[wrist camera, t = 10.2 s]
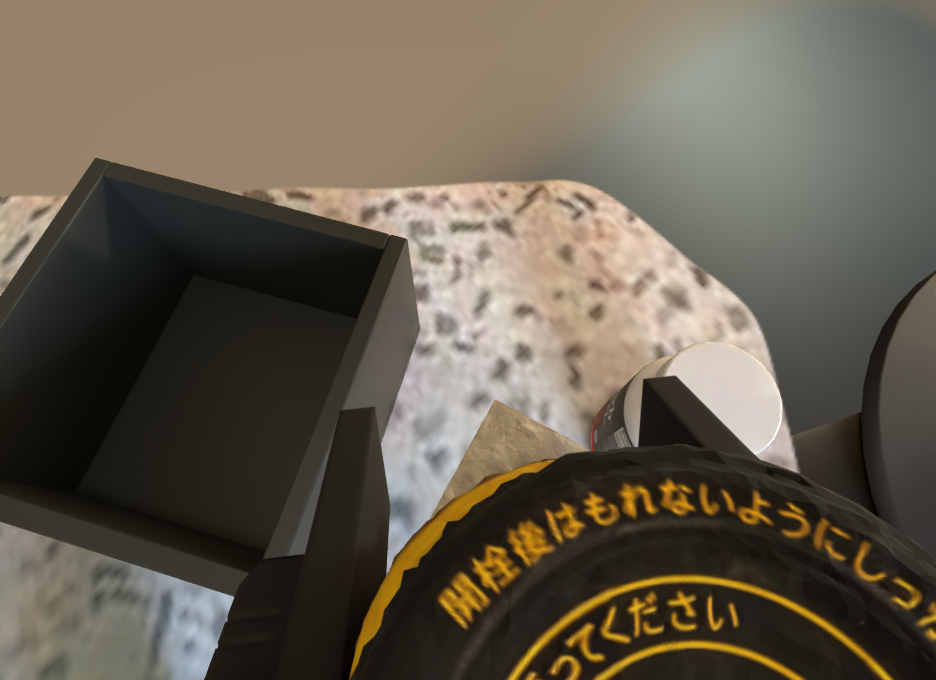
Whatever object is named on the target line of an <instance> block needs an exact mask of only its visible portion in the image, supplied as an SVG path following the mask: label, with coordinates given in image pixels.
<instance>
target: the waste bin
mask: <svg viewBox="0 0 936 680" xmlns="http://www.w3.org/2000/svg"><path fill="white" fill-rule="evenodd" d="M419 331H420V325H419V319H418V312H417V305H416V298H415V290H414V283H413V276H412V269H411V262H410V255H409V247H408V240H407V239H405V238H402V237H398V236H394V235H391V236H390V235H389V234H386V233H383V232H379V231H375V230H371V229H367V228H363V227H359V226H356V225H352V224H348V223H344V222H340V221H336V220H333V219H329V218H325V217H321V216H317V215H313V214H309V213H306V212H302V211H298V210H294V209H290V208H286V207H283V206H279V205H275V204H271V203H267V202H263V201H259V200H256V199H252V198H248V197H244V196H240V195H236V194H233V193H229V192H225V191H221V190H217V189H213V188H209V187H206V186H202V185H198V184H194V183H190V182H186V181H182V180H179V179H174V178H171V177H167V176H163V175H159V174H156V173H151V172H148V171H144V170H140V169H136V168H133V167H129V166H125V165H120V164H117V163H111V162H109V161H106V160H102V159H98V158H95V159H94V161H93V162H92V164H91V165H90V167H89V168H88V170H87V171H86V172H85V174H84V175H83V177H82V178H81V180H80V181H79V183H78V184H77V186H76V187H75V189H74V190H73V191H72V193H71V194H70V196H69V197H68V199H67V200H66V202H65V203H64V204H63V206H62V207H61V209H60V210H59V212H58V213H57V215H56V216H55V218H54V219H53V221H52V222H51V223H50V225H49V226H48V228H47V229H46V231H45V232H44V234H43V235H42V237H41V238H40V239H39V241H38V242H37V244H36V245H35V247H34V248H33V250H32V251H31V253H30V254H29V255H28V257H27V258H26V260H25V261H24V263H23V264H22V266H21V267H20V269H19V270H18V272H17V273H16V274H15V276H14V277H13V279H12V280H11V282H10V283H9V285H8V286H7V288H6V289H5V290H4V292H3V293H2V295H1V296H0V522H3V523H6V524H9V525H12V526H15V527H19V528H22V529H25V530H28V531H31V532H34V533H37V534H40V535H44V536H47V537H50V538H53V539H56V540H59V541H62V542H65V543H68V544H72V545H75V546H78V547H81V548H84V549H87V550H90V551H93V552H97V553H100V554H103V555H106V556H109V557H112V558H115V559H118V560H122V561H125V562H128V563H131V564H134V565H137V566H140V567H143V568H146V569H150V570H153V571H156V572H159V573H162V574H165V575H168V576H171V577H175V578H178V579H181V580H184V581H187V582H190V583H193V584H196V585H200V586H203V587H206V588H209V589H212V590H215V591H218V592H221V593H225V594H228V595H231V596H234V597H235V594H236V592H237V589H238V586H239V585H240V584H241V582H242V581H243V580H244V579H245V578H246V576H247V575H248V574H249V573H250V572H251V570H252V569H253V568H254V567H255V565H256V564H257V563H258V562H259V561H260V559H267V558H275V557H284V556H292V555H300V554H305V551H306V547H307V543H308V539H309V535H310V531H311V526H312V522H313V518H314V514H315V510H316V506H317V502H318V498H319V494H320V490H321V485H322V481H323V477H324V473H325V469H326V465H327V461H328V457H329V453H330V449H331V445H332V440H333V436H334V432H335V428H336V424H337V420H338V416H339V412H340V410H346V409H356V408H366V407H375V411H376V417H377V424H378V430H379V437H380V443H381V441H382V438H383V435H384V432H385V430H386V427H387V424H388V421H389V418H390V415H391V412H392V409H393V406H394V403H395V400H396V398H397V395H398V392H399V389H400V386H401V383H402V380H403V377H404V374H405V371H406V368H407V366H408V363H409V360H410V357H411V354H412V351H413V348H414V345H415V342H416V339H417V336H418V334H419Z"/></svg>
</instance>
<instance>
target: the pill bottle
mask: <svg viewBox="0 0 936 680" xmlns="http://www.w3.org/2000/svg"><path fill="white" fill-rule="evenodd" d="M675 375H676V376H677V377H678V378H679V379H680V380H681V381H682V382H683V383H684V384H685V385H686V386H687V387H688V388H689V389H690V390H691V391H692V392H693V393H694V394H695V395H696V396H697V397H698V398H699V399H700V400H701V401H702V402H703V403H704V404H705V405H706V406H707V407H708V408H709V409H710V410H711V411H712V412H713V413H714V414H715V415H716V416H717V417H718V418H719V419H720V420H721V421H722V422H723V423H724V424H725V425H726V426H727V427H728V428H729V429H730V430H731V431H732V432H733V433H734V434H735V435H736V436H737V437H738V438H739V439H740V440H741V441H742V442H743V443H744V444H745V445H746V446H747V447H748V448H749V449H750V450H751V451H752V452H753V453H754V454H755V455H756V454H758V453H760V452H761V451H763V450H764V449H765V448H766V447H767V446H768V445H769V444H770V443H771V442H772V441H773V439H774V438H775V436H776V435H777V433H778V430H779V428H780V424H781V420H782V402H781V397H780V393H779V390H778V388H777V386H776V383H775V381H774V380H773V378H772V376H771V375H770V373H769V372H768V371H767V369H766V368H765V367H764V366H763V365H762V364H761V363H760V362H759V361H758V360H757V359H756V358H754V357H753V356H752V355H750V354H749V353H747V352H745V351H744V350H742V349H739V348H737V347H735V346H732V345H730V344H725V343H719V342H702V343H697V344H693V345H691V346H688V347H686V348H684V349H682V350H681V351H679V352H678V353H677V354H675V355H671V356H666V357H663V358H660V359H658V360H656V361H654V362H652V363H650V364H648V365H647V366H645V367H644V368H643V369H641V370H640V371H639V372H638V373H637V374H636V375H635V376H634V377H633V378H632V379H631V380H630V381H629V382H628V383H627V384H626V385H625V386H624V387H623V388H622V389H621V390H620V391H619V392H618V393H617V394H616V395H614V396H613V397H612V398H611V399H610V400H609V401H608V402H607V403H606V404H605V405H604V406H603V407H602V409H601V410H600V411H599V413H598V414H597V416H596V418H595V420H594V423H593V426H592V430H591V449H592V451H607V450H609V449H619V448H623V447H638V439H639V426H640V413H641V400H642V386H643V379H646V378H656V377H665V376H675Z"/></svg>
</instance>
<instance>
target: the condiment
mask: <svg viewBox="0 0 936 680" xmlns="http://www.w3.org/2000/svg"><path fill="white" fill-rule="evenodd" d="M349 680H936V559H935V558H934V557H933V556H932V555H931V554H930V553H929V552H928V551H926V550H925V549H924V548H922V547H921V546H920V545H918V544H917V543H916V542H914V541H913V540H911V539H909V538H908V537H906V536H904V535H903V534H901V533H900V532H899V531H897V530H896V529H894V528H893V527H892V526H890V525H889V524H887V523H886V522H884V521H883V520H881V519H879V518H878V517H877V516H875V515H874V514H872V513H871V512H869V511H868V510H867V509H865V508H864V507H862V506H861V505H859V504H857V503H855V502H853V501H851V500H849V499H847V498H845V497H843V496H841V495H839V494H837V493H835V492H833V491H831V490H829V489H827V488H824V487H822V486H820V485H818V484H816V483H815V482H813V481H812V480H810V479H808V478H806V477H805V476H803V475H801V474H799V473H796V472H793V471H790V470H788V469H785V468H782V467H779V466H777V465H774V464H771V463H768V462H765V461H762V460H760V459H756V458H753V457H750V456H747V455H744V454H741V453H727V452H720V451H714V450H708V449H703V448H697V447H694V446H690V445H686V444H676V443H675V444H672V445H664V446H649V447H646V446H643V447H623V448H619V449H609V450H607V451H590V450H586V449H584V448H583V447H582V446H580V445H579V444H577V443H575V442H574V441H572V440H570V439H568V438H567V437H564V436H562V435H561V434H559V433H557V432H555V431H554V430H552V429H550V428H547V427H545V426H543V425H541V424H540V423H538V422H536V421H534V420H532V419H530V418H529V417H527V416H525V415H524V414H522V413H520V412H518V411H516V410H514V409H512V408H510V407H509V406H507V405H505V404H503V403H501V402H499V401H497V400H495V401H494V402H493V404H492V406H491V408H490V410H489V412H488V413H487V415H486V417H485V419H484V421H483V422H482V424H481V426H480V428H479V430H478V432H477V434H476V435H475V437H474V439H473V441H472V443H471V445H470V446H469V448H468V450H467V452H466V454H465V455H464V457H463V459H462V461H461V463H460V465H459V467H458V469H457V471H456V473H455V474H454V476H453V478H452V479H451V481H450V483H449V485H448V487H447V488H446V490H445V492H444V494H443V496H442V498H441V500H440V501H439V503H438V505H437V507H436V509H435V511H434V512H433V514H432V516H431V518H430V520H428V521H427V522H426V523H425V524H424V525H423V526H422V527H421V528H420V529H419V530H418V531H417V532H416V533H415V534H414V535H413V536H412V537H411V538H410V540H409V541H408V542H407V543H406V545H405V546H404V548H403V549H402V550H401V551H400V552H399V553H398V554H397V555H396V556H395V557H394V560H393V563H392V566H391V568H390V571H389V573H388V574H387V576H386V578H385V579H384V581H383V583H382V585H381V586H380V588H379V590H378V592H377V595H376V596H375V598H374V599H373V601H372V603H371V606H370V609H369V611H368V613H367V615H366V617H365V619H364V622H363V626H362V630H361V632H360V634H359V636H358V639H357V641H356V646H355V655H354V660H353V664H352V668H351V673H350V677H349Z"/></svg>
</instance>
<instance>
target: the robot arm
mask: <svg viewBox="0 0 936 680" xmlns="http://www.w3.org/2000/svg"><path fill="white" fill-rule="evenodd" d="M675 443H676V444H686V445H690V446H694V447H697V448H703V449H708V450H714V451H720V452H727V453H741V454H744V455H747V456H750V457H753V458H756V459H759V458H758V457H757V456H756V455H755V454H754V453H753V452H752V451H751V450H750V449H749V448H748V447H747V446H746V445H745V444H744V443H743V442H742V441H741V440H740V439H739V438H738V437H737V436H736V435H735V434H734V433H733V432H732V431H731V430H730V429H729V428H728V427H727V426H726V425H725V424H724V423H723V422H722V421H721V420H720V419H719V418H718V417H717V416H716V415H715V414H714V413H713V412H712V411H711V410H710V409H709V408H708V407H707V406H706V405H705V404H704V403H703V402H702V401H701V400H700V399H699V398H698V397H697V396H696V395H695V394H694V393H693V392H692V391H691V390H690V389H689V388H688V387H687V386H686V385H685V384H684V383H683V382H682V381H681V380H680V379H679V378H678V377H677V376H676V375H675V376H665V377H656V378H646V379H643V386H642V400H641V413H640V426H639V439H638V447H643V446H646V447H649V446H664V445H672V444H675ZM389 516H390V502H389V495H388V489H387V482H386V476H385V469H384V463H383V456H382V450H381V443H380V437H379V430H378V424H377V417H376V411H375V407H366V408H356V409H346V410H340V412H339V416H338V420H337V424H336V428H335V432H334V436H333V440H332V445H331V449H330V453H329V457H328V461H327V465H326V469H325V473H324V477H323V481H322V485H321V490H320V494H319V498H318V502H317V506H316V510H315V514H314V518H313V522H312V526H311V531H310V535H309V539H308V543H307V547H306V551H305V554H300V555H292V556H284V557H275V558H267V559H260V561H259V562H258V563H257V564H256V565H255V567H254V568H253V569H252V570H251V572H250V573H249V574H248V575H247V576H246V578H245V579H244V580H243V581H242V582H241V584H240V585H239V586H238V589H237V592H236V594H235V597H234V600H233V603H232V605H231V608H230V611H229V614H228V621H227V622H225V624H224V627H223V630H222V633H221V635H220V638H219V641H218V648H217V649H215V652H214V654H213V657H212V660H211V663H210V665H209V668H208V671H207V673H206V676H205V679H204V680H349V677H350V673H351V668H352V664H353V660H354V655H355V646H356V641H357V639H358V636H359V634H360V632H361V630H362V626H363V622H364V619H365V617H366V615H367V613H368V611H369V609H370V606H371V603H372V601H373V599H374V598H375V596H376V595H377V592H378V590H379V588H380V586H381V585H382V583H383V581H384V579H385V578H386V568H387V551H388V534H389Z"/></svg>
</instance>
